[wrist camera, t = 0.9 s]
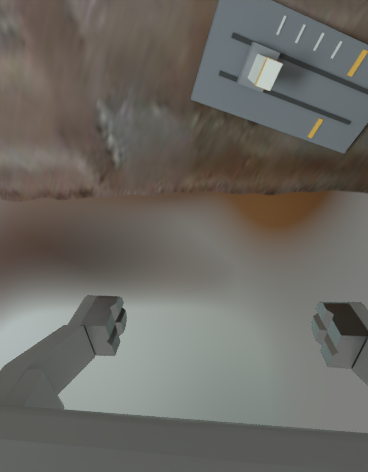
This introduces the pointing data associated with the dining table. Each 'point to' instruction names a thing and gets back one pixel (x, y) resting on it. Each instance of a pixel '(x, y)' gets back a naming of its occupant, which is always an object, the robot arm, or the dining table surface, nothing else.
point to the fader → (260, 68)
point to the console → (287, 73)
